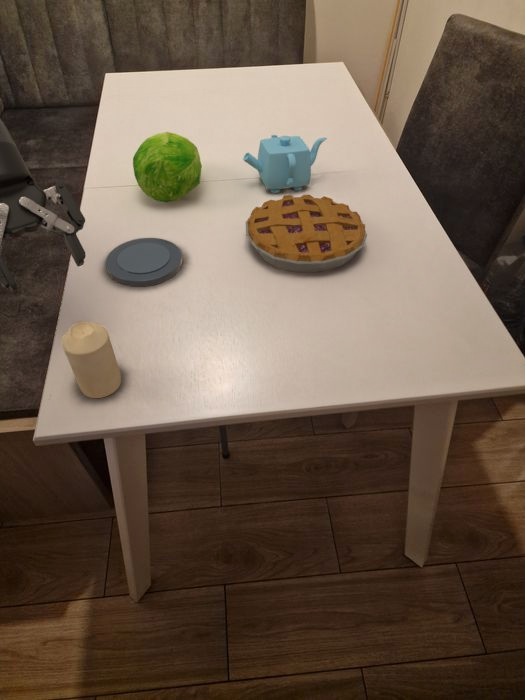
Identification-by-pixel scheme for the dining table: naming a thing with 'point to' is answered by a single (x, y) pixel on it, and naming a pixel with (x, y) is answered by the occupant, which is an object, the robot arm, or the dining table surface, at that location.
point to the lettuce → (167, 167)
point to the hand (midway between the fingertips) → (49, 276)
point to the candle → (92, 359)
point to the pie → (305, 233)
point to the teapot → (284, 162)
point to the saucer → (144, 262)
